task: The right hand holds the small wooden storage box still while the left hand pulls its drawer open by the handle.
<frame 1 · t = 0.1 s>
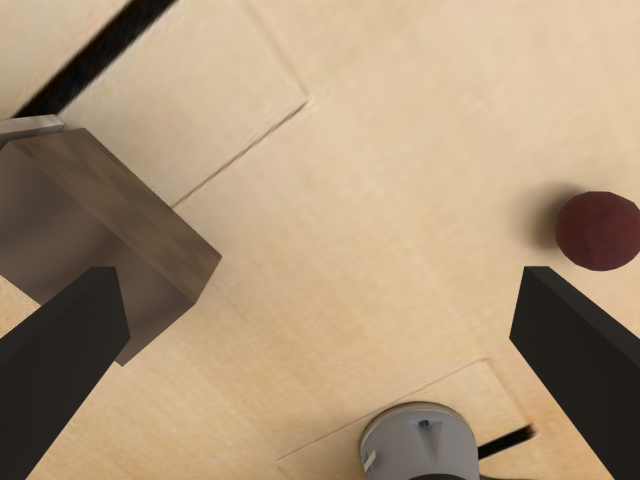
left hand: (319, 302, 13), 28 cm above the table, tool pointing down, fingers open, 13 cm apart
dark red ball: (575, 217, 41), on the table
drawer: (53, 202, 35), point 5 cm above the table, slide at 1.1 cm
wooden storage box: (127, 226, 42), on the table
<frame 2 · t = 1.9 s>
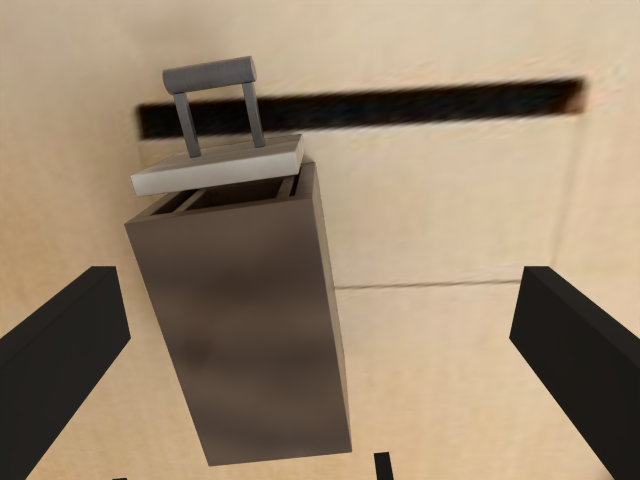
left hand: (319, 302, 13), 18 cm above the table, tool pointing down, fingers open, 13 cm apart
drawer: (248, 239, 26), point 5 cm above the table, slide at 1.1 cm
wooden storage box: (272, 277, 33), on the table
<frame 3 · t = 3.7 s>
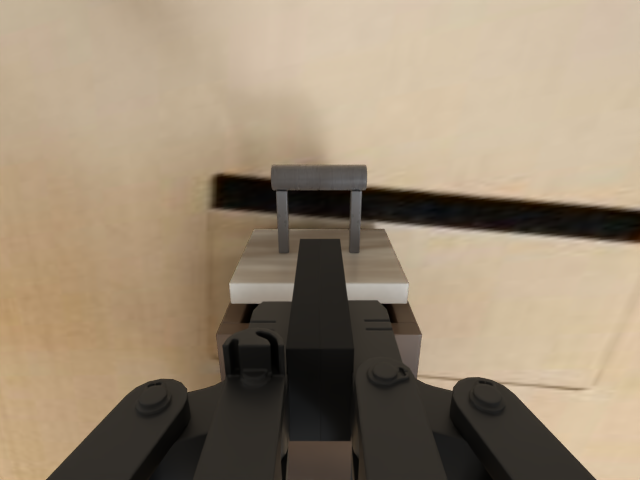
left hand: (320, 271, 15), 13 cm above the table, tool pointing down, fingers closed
drawer: (319, 336, 25), point 5 cm above the table, slide at 1.1 cm
wooden storage box: (319, 356, 32), on the table, touching right hand
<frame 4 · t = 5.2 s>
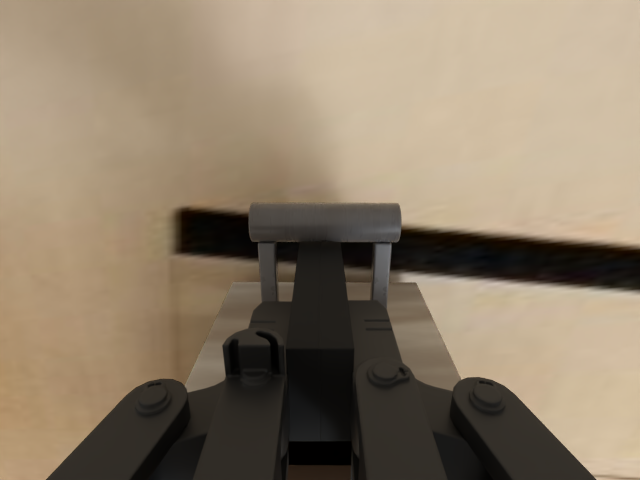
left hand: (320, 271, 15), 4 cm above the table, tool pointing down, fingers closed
drawer: (323, 440, 17), point 5 cm above the table, slide at 1.2 cm, touching left hand
wooden storage box: (323, 440, 24), on the table, touching right hand
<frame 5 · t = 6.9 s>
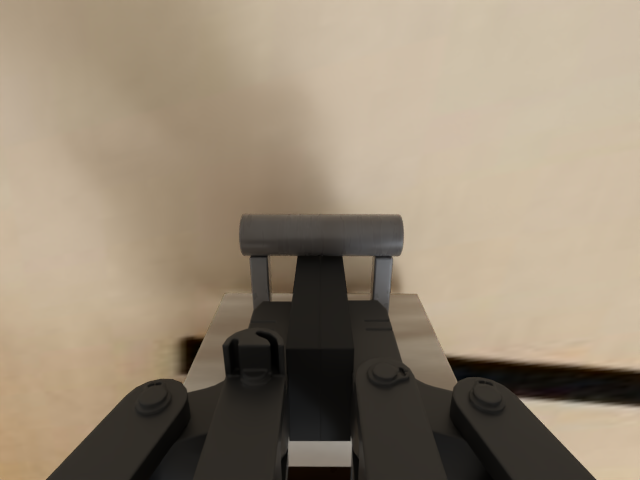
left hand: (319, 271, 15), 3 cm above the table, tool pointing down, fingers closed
drawer: (320, 461, 17), point 5 cm above the table, slide at 7.7 cm, touching left hand
when the right hand's fingers open (5 cm above the table, at t = 8.5 s): wooden storage box stays where it is, on the table.
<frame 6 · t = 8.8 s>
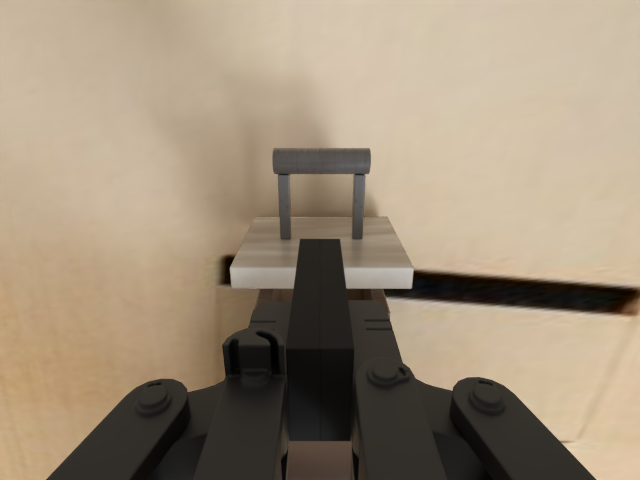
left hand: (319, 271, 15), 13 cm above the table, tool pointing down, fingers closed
drawer: (321, 324, 25), point 5 cm above the table, slide at 7.8 cm
wooden storage box: (321, 411, 34), on the table
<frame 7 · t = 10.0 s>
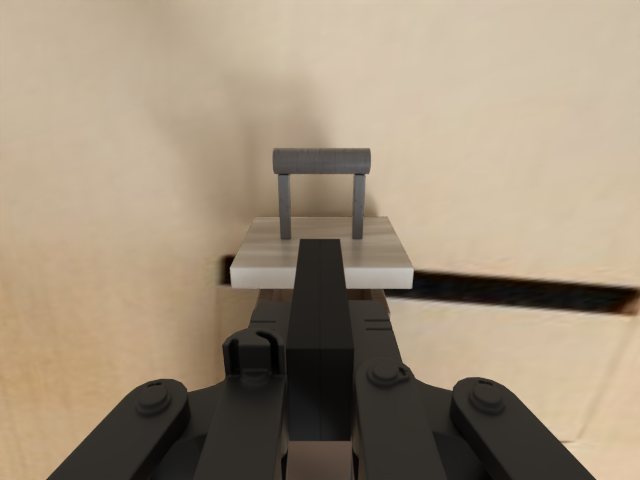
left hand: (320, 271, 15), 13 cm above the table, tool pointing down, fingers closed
drawer: (321, 324, 25), point 5 cm above the table, slide at 7.8 cm
wooden storage box: (321, 411, 34), on the table
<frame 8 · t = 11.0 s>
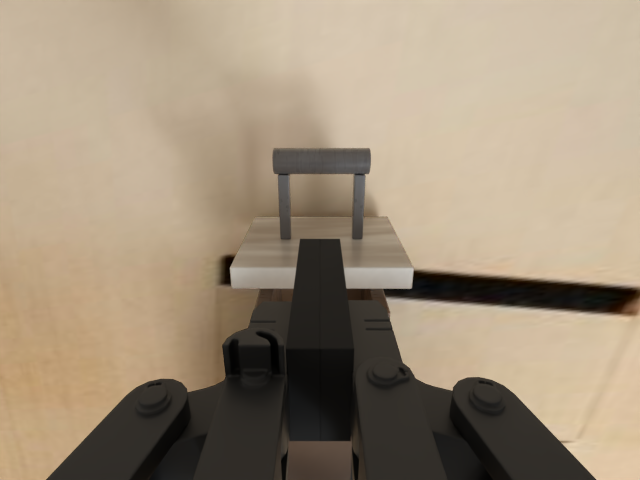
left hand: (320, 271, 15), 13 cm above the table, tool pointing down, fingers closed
drawer: (321, 324, 25), point 5 cm above the table, slide at 7.8 cm
wooden storage box: (321, 411, 34), on the table
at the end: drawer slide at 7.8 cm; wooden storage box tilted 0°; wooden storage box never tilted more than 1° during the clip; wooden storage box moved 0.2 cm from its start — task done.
